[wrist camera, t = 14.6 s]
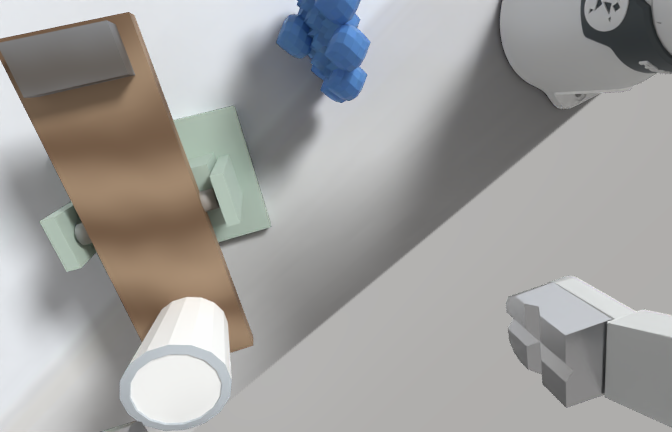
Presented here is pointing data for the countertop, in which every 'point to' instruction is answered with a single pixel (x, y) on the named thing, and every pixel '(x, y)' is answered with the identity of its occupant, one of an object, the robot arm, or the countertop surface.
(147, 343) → the white cup
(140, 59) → the seesaw beam
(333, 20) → the grapes
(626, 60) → the robot arm
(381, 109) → the countertop surface
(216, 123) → the pivot stand
